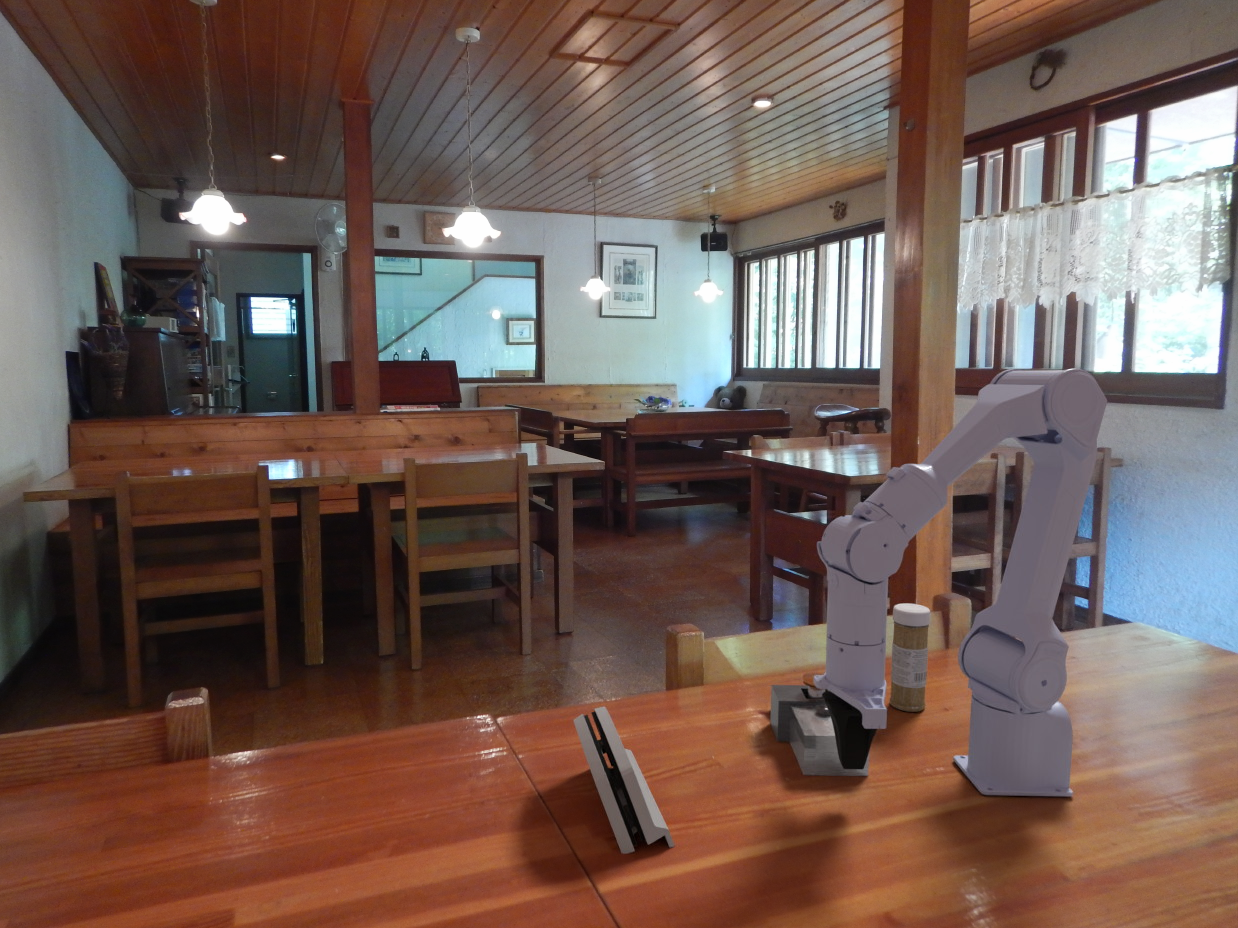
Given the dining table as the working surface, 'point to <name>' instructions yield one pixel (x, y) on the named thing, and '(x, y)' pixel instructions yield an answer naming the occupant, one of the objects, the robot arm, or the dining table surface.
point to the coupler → (788, 707)
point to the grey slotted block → (620, 784)
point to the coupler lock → (817, 742)
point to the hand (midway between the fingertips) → (851, 765)
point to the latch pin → (812, 686)
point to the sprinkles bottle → (909, 657)
